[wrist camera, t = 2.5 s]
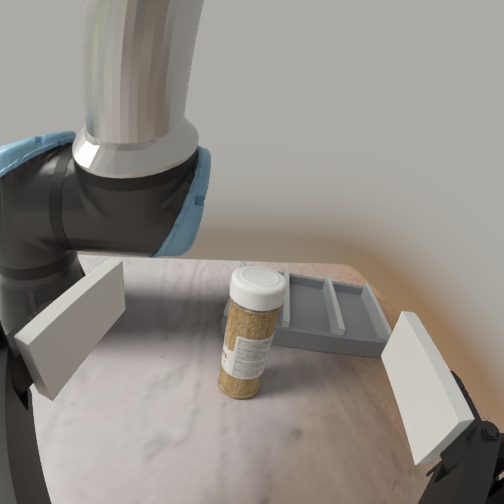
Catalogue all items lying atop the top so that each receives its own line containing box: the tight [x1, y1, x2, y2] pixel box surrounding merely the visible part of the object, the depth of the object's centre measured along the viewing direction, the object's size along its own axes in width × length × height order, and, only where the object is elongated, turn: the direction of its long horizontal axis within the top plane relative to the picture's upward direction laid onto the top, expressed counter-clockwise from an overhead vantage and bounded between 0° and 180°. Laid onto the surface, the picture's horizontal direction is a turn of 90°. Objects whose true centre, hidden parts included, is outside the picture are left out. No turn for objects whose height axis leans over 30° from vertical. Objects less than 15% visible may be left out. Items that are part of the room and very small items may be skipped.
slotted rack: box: [220, 261, 392, 358], centre depth 42 cm, size 23×16×4 cm
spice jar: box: [218, 265, 287, 399], centre depth 26 cm, size 5×5×14 cm
